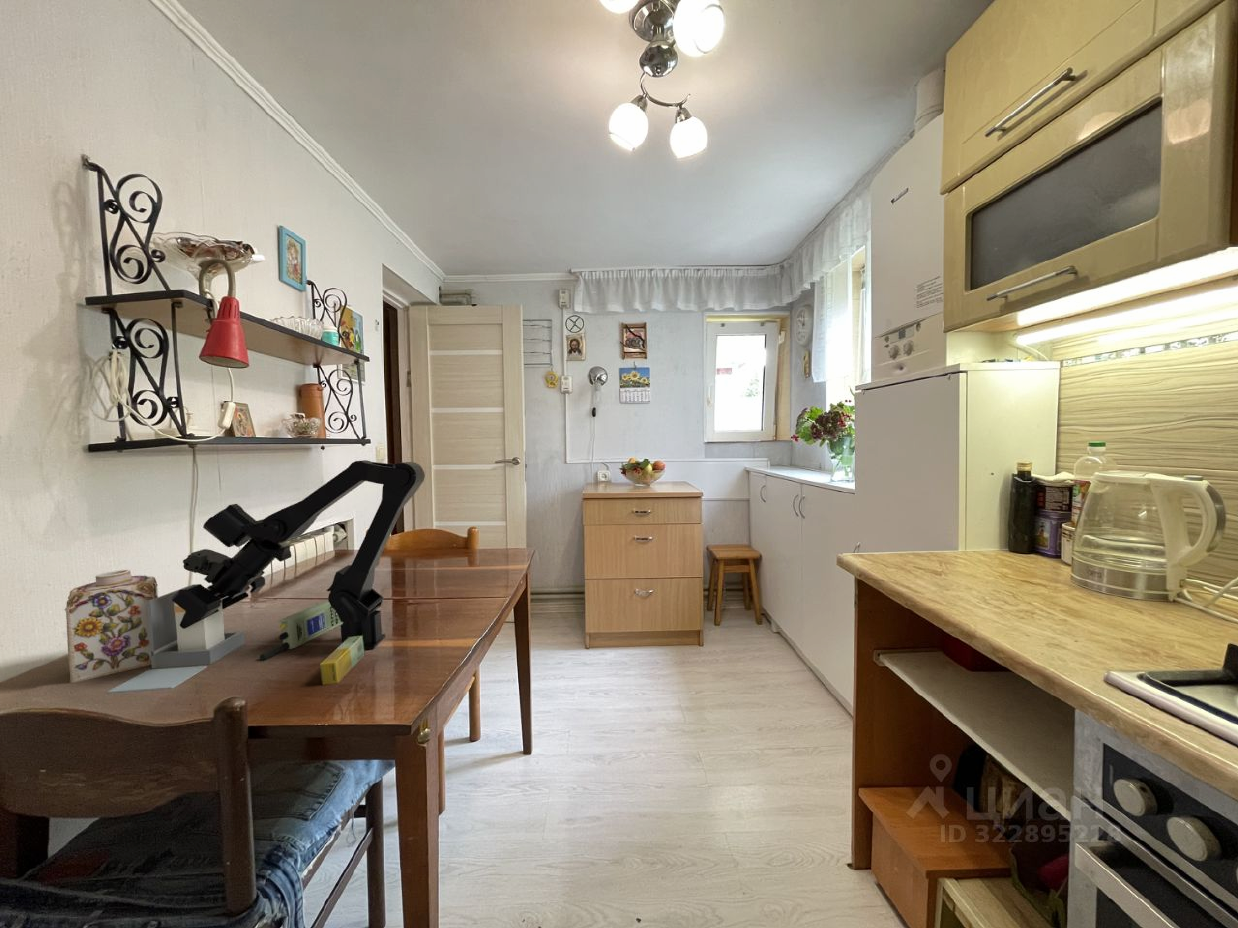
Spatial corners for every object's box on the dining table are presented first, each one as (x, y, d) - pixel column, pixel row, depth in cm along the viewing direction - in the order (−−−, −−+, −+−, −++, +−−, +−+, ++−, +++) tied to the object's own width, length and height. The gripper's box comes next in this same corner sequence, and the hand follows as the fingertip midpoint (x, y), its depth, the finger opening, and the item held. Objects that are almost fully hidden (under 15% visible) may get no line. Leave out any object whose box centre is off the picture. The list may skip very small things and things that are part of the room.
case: (244, 645, 101) (240, 583, 101) (210, 666, 92) (205, 597, 91) (191, 648, 100) (186, 586, 100) (150, 670, 91) (145, 601, 90)
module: (226, 647, 99) (221, 586, 98) (207, 658, 94) (202, 594, 93) (198, 649, 98) (194, 588, 98) (177, 660, 93) (172, 596, 93)
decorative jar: (160, 664, 93) (153, 571, 92) (69, 686, 85) (60, 585, 85) (163, 646, 102) (156, 561, 101) (81, 664, 94) (73, 572, 94)
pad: (207, 668, 91) (206, 665, 91) (171, 690, 83) (171, 687, 83) (148, 673, 90) (148, 669, 90) (107, 695, 82) (107, 691, 82)
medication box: (351, 655, 95) (349, 635, 95) (365, 654, 95) (363, 634, 95) (321, 686, 83) (319, 663, 83) (338, 684, 83) (336, 661, 83)
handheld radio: (360, 617, 117) (270, 664, 92) (348, 617, 117) (255, 664, 93) (358, 589, 117) (267, 629, 92) (346, 590, 117) (252, 629, 93)
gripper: (246, 527, 105) (193, 582, 104) (179, 545, 86) (114, 611, 85) (288, 561, 106) (236, 615, 105) (231, 586, 88) (168, 651, 87)
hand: (192, 621), depth 96 cm, fingers closed on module, 5 cm apart
